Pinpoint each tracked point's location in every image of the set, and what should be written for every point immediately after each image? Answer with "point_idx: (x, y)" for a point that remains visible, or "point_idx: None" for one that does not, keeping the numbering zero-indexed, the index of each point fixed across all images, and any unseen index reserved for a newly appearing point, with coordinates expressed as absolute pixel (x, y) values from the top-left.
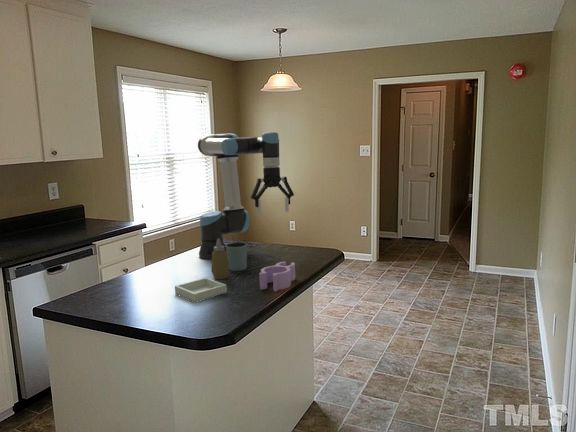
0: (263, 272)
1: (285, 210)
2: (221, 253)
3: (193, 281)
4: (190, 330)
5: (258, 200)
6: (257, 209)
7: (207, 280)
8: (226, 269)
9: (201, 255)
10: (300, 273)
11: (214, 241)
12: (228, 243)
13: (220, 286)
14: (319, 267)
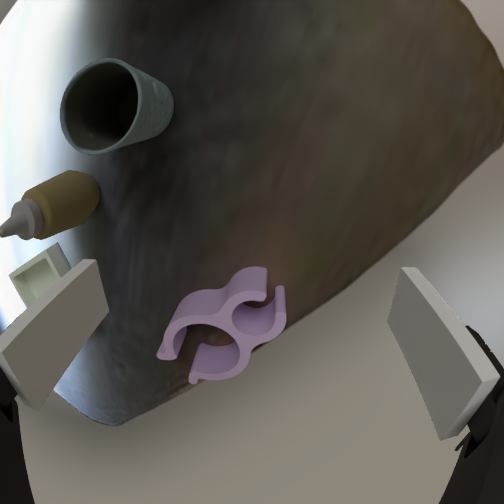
0: (168, 354)
1: (401, 280)
2: (41, 238)
3: (28, 265)
4: (75, 399)
5: (21, 399)
6: (60, 284)
7: (51, 264)
8: (83, 221)
9: None
10: (319, 265)
11: None
12: (74, 76)
13: None
14: (399, 236)
